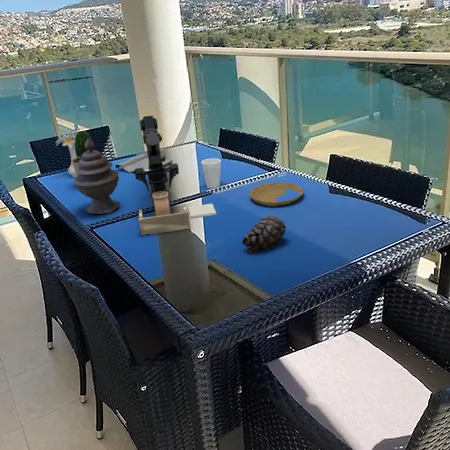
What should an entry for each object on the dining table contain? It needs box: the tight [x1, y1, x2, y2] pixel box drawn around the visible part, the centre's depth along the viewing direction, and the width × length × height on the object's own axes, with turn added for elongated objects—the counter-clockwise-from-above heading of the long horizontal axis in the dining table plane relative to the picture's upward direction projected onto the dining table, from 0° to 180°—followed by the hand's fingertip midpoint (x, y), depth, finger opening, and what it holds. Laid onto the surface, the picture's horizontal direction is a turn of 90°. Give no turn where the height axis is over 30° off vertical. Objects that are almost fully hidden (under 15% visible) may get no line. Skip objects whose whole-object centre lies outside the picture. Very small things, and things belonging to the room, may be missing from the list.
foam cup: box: [200, 157, 222, 189], centre depth 236 cm, size 10×9×13 cm
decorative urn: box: [73, 138, 121, 215], centre depth 215 cm, size 20×20×34 cm
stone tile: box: [187, 203, 217, 219], centre depth 210 cm, size 11×11×1 cm
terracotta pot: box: [151, 191, 171, 216], centre depth 201 cm, size 7×7×13 cm
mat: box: [115, 153, 173, 174], centre depth 277 cm, size 23×24×5 cm
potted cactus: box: [71, 129, 92, 176], centre depth 249 cm, size 15×15×30 cm
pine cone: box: [241, 215, 287, 253], centre depth 175 cm, size 10×18×10 cm, turn 137°
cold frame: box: [138, 203, 191, 236], centre depth 201 cm, size 18×20×7 cm
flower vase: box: [55, 130, 88, 178], centre depth 268 cm, size 13×18×25 cm
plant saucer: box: [249, 181, 304, 207], centre depth 218 cm, size 24×24×3 cm
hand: (159, 189), depth 204 cm, fingers open, 9 cm apart
